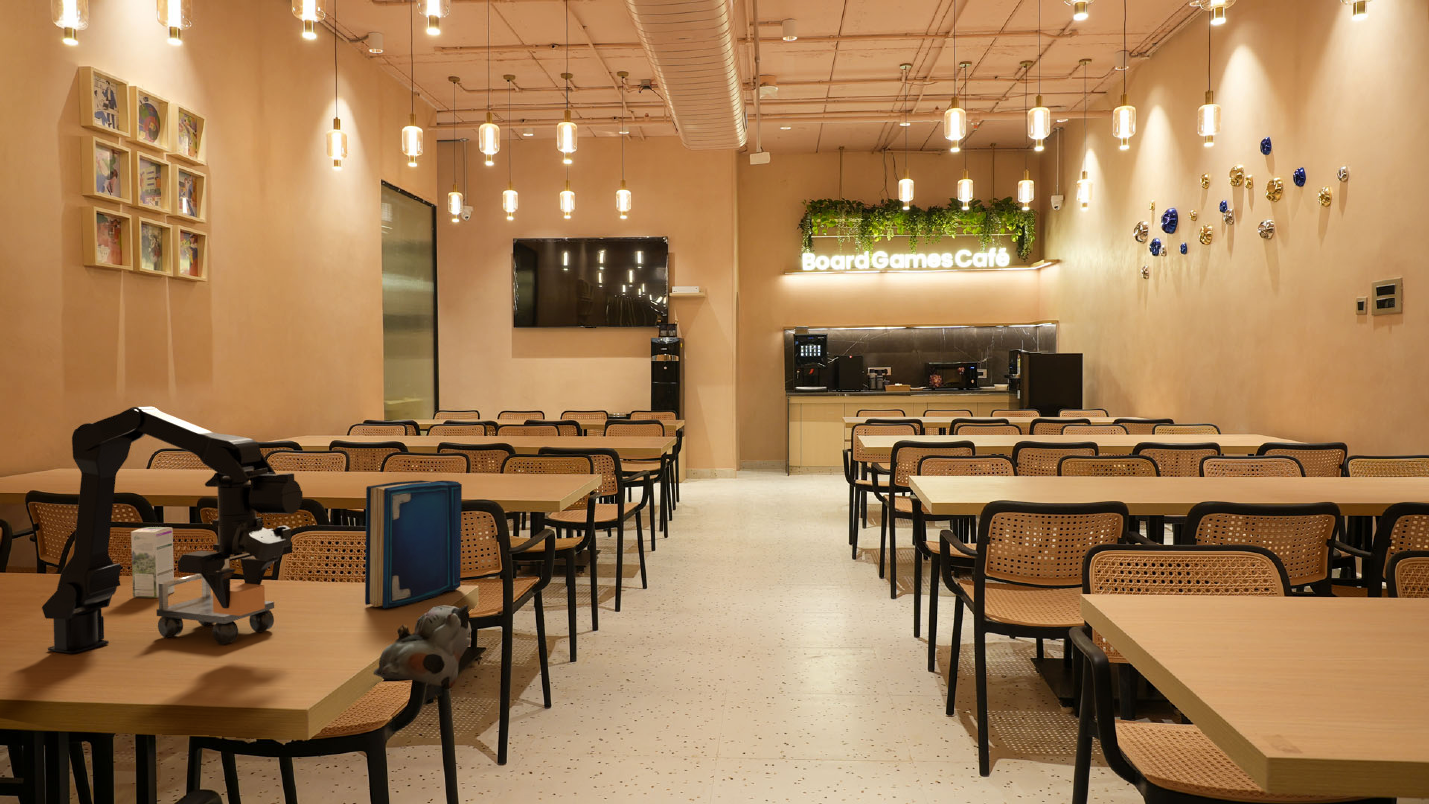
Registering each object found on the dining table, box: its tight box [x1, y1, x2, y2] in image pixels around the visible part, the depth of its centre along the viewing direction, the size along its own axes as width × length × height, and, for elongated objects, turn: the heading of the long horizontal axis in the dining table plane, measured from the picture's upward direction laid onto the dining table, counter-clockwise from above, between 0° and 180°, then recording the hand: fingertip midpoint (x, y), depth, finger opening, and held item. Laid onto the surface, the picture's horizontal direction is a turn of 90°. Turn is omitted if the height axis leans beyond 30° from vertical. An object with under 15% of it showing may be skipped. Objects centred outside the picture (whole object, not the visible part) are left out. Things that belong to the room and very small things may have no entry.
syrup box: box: [130, 526, 175, 599], centre depth 193 cm, size 6×6×14 cm
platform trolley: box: [156, 574, 275, 646], centre depth 163 cm, size 11×17×10 cm, turn 71°
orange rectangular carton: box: [212, 582, 266, 616], centre depth 151 cm, size 5×6×4 cm
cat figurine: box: [373, 604, 472, 690], centre depth 138 cm, size 15×12×14 cm
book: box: [364, 480, 463, 609], centre depth 189 cm, size 22×7×25 cm, turn 149°
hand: (239, 604), depth 151 cm, fingers closed on orange rectangular carton, 5 cm apart
